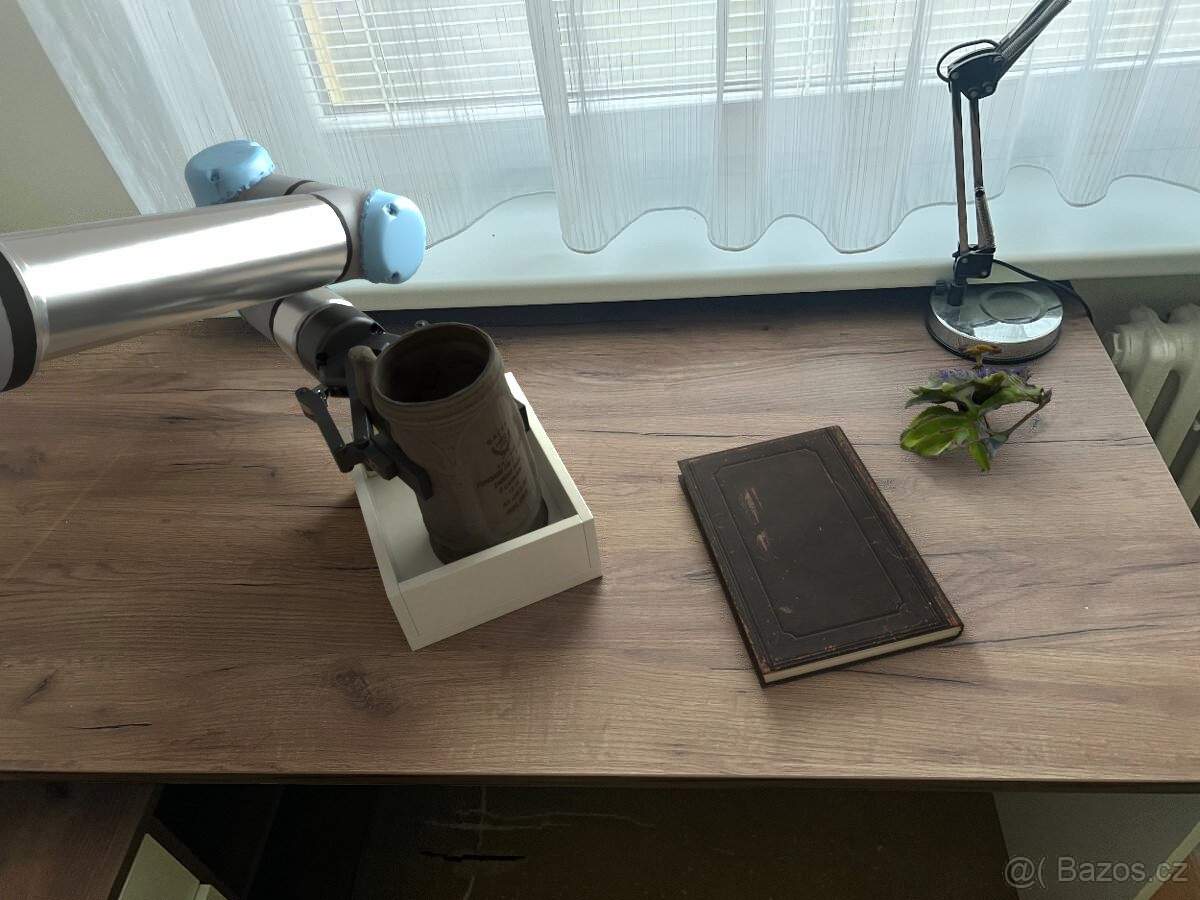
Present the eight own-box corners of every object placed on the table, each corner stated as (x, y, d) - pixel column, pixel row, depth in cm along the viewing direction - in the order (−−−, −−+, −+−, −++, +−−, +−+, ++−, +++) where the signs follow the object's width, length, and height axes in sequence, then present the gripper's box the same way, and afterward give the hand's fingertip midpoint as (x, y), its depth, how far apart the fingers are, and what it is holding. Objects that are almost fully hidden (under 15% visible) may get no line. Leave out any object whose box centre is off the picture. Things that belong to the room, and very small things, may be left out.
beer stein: (575, 496, 79) (521, 319, 65) (526, 591, 72) (453, 417, 59) (433, 470, 85) (355, 303, 71) (375, 556, 78) (277, 390, 64)
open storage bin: (412, 652, 71) (387, 597, 66) (361, 485, 86) (337, 430, 80) (603, 575, 75) (594, 517, 70) (523, 427, 89) (510, 371, 84)
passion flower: (952, 454, 88) (1036, 358, 83) (1001, 520, 79) (1098, 417, 73) (864, 412, 85) (945, 309, 79) (905, 476, 75) (999, 365, 70)
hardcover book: (761, 689, 66) (762, 672, 64) (678, 477, 82) (677, 460, 80) (961, 639, 67) (967, 621, 65) (839, 440, 83) (841, 423, 82)
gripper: (436, 318, 89) (583, 416, 76) (242, 430, 80) (373, 563, 67) (418, 254, 84) (573, 348, 71) (208, 366, 74) (343, 497, 62)
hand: (476, 452), depth 69 cm, fingers closed on beer stein, 9 cm apart
